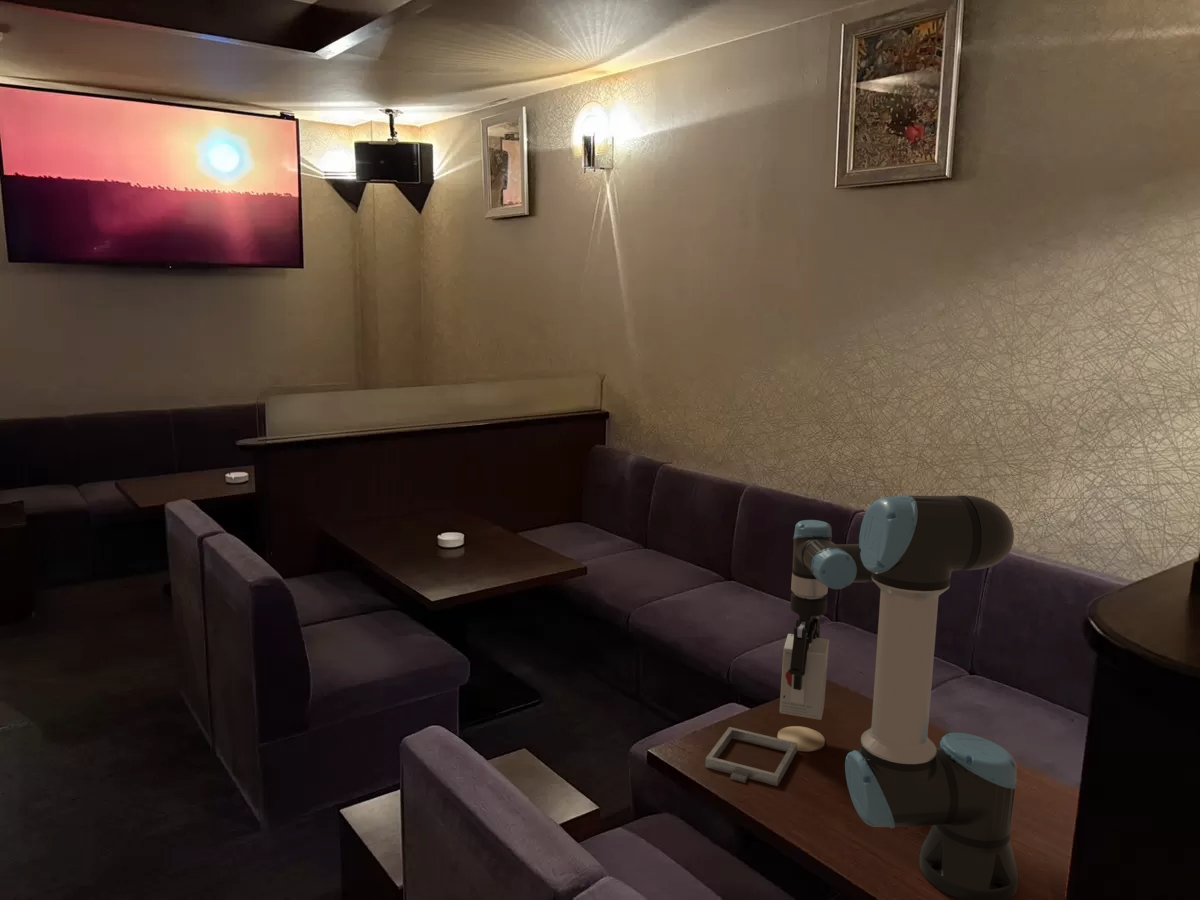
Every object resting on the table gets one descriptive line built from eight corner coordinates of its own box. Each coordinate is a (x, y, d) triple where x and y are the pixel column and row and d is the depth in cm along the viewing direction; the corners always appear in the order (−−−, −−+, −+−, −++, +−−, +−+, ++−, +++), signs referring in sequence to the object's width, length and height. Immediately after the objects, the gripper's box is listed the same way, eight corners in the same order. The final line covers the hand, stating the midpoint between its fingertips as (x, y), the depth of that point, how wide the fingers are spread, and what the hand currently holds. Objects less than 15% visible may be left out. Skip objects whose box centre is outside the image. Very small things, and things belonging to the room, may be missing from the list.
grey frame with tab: (774, 791, 170) (775, 781, 170) (701, 771, 177) (702, 762, 177) (799, 747, 187) (799, 738, 187) (731, 731, 194) (732, 722, 193)
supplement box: (778, 713, 187) (781, 647, 184) (783, 696, 195) (787, 632, 192) (821, 721, 184) (826, 653, 181) (825, 702, 192) (829, 638, 189)
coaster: (818, 755, 184) (818, 753, 184) (771, 744, 188) (772, 742, 188) (829, 735, 193) (829, 732, 193) (784, 724, 197) (784, 722, 197)
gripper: (814, 612, 173) (808, 718, 177) (838, 581, 193) (832, 676, 197) (777, 606, 177) (772, 709, 181) (804, 576, 196) (798, 670, 200)
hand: (803, 692), depth 189 cm, fingers closed on supplement box, 9 cm apart
